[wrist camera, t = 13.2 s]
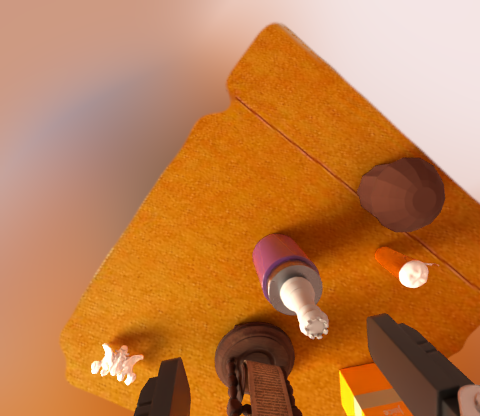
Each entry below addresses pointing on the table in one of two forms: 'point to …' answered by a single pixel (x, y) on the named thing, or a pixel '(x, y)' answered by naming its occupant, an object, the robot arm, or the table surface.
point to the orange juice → (369, 393)
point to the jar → (276, 256)
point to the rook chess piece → (304, 306)
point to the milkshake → (403, 267)
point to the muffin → (403, 194)
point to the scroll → (257, 370)
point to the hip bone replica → (117, 363)
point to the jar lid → (287, 272)
